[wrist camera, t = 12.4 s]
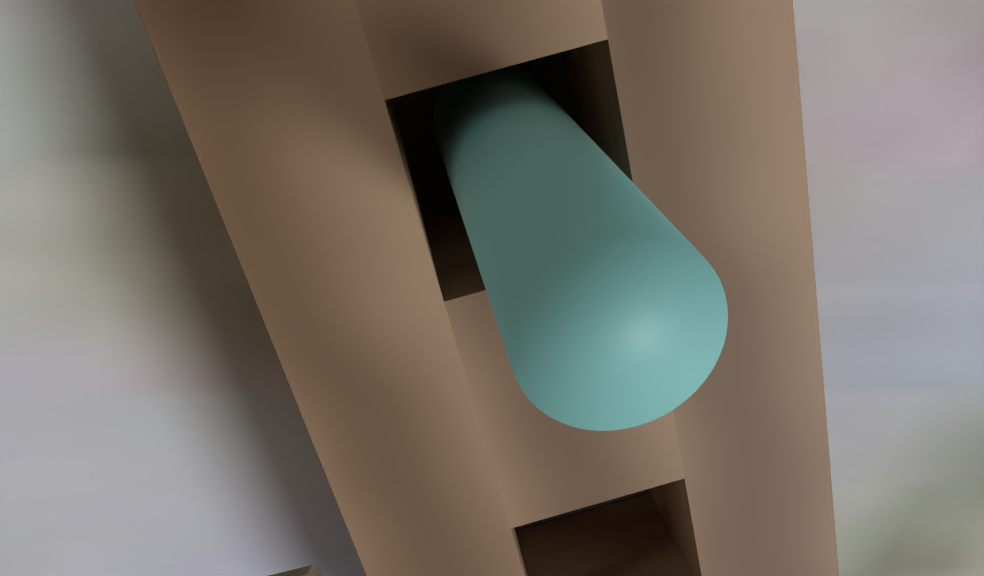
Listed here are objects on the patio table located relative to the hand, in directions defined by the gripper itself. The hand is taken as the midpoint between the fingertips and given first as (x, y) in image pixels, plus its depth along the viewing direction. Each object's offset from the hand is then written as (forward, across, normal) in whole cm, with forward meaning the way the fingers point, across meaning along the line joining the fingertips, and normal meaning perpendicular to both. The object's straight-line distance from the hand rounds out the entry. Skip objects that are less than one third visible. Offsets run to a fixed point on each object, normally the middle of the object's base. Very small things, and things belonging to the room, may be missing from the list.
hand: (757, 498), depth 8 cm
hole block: (+16, +1, +6) cm, 17 cm away
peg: (+16, +1, 0) cm, 16 cm away
